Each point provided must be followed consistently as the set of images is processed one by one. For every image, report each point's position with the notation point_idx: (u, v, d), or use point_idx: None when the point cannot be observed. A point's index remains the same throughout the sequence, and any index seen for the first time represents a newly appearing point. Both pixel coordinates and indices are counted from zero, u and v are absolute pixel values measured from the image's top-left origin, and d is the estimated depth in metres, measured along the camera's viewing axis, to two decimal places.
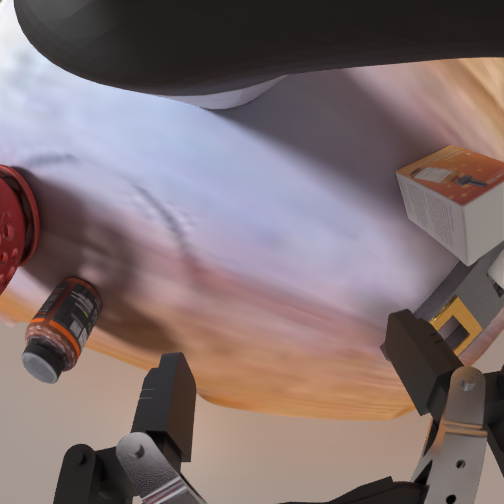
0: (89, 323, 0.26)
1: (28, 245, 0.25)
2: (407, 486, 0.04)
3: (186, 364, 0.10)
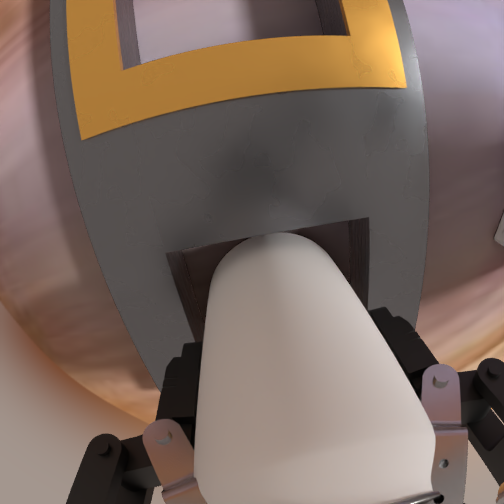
0: None
1: None
2: None
3: None
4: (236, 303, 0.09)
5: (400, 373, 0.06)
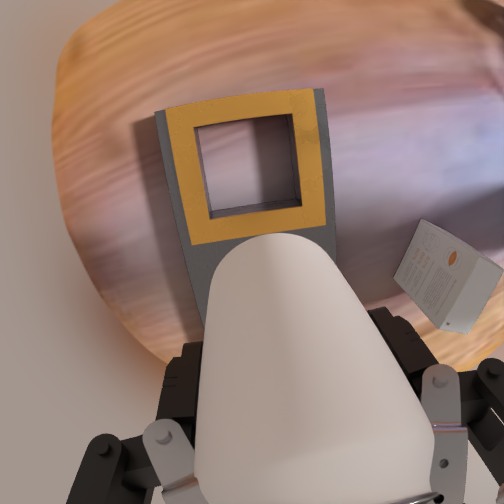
0: None
1: None
2: None
3: None
4: (236, 304, 0.09)
5: (400, 374, 0.06)
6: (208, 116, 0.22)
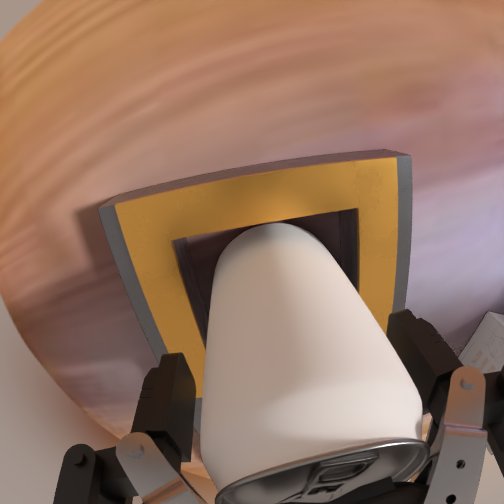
0: None
1: None
2: (407, 486, 0.04)
3: (186, 364, 0.10)
4: (239, 281, 0.11)
5: (383, 337, 0.08)
6: (197, 219, 0.12)
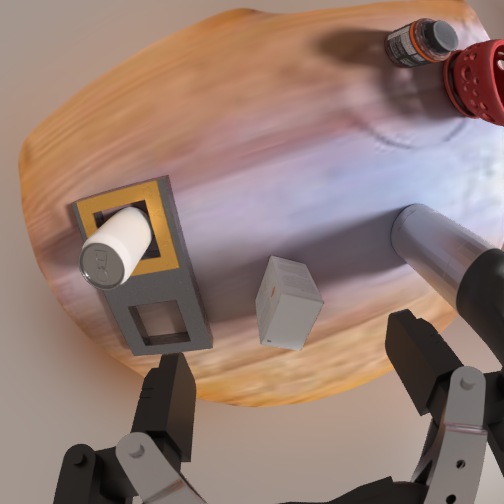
0: (403, 53, 0.27)
1: (448, 75, 0.31)
2: (407, 486, 0.04)
3: (186, 364, 0.10)
4: (104, 223, 0.34)
5: (123, 232, 0.31)
6: (98, 206, 0.35)
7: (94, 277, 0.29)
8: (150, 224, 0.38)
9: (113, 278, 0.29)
